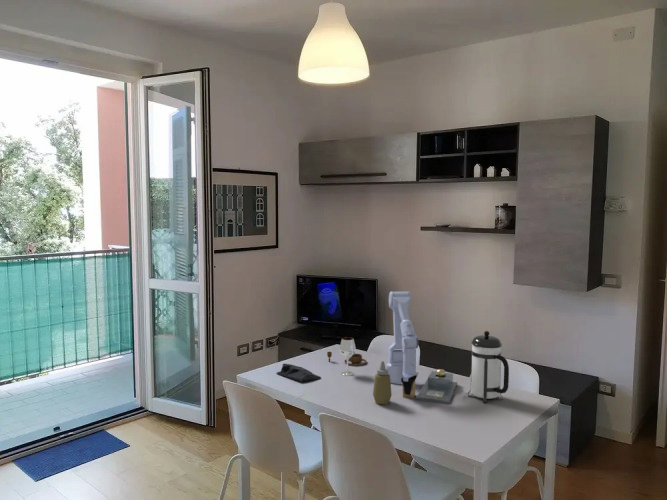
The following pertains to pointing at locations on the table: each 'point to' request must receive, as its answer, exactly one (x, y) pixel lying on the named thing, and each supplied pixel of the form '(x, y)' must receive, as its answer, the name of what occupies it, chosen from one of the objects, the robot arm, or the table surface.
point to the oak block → (411, 391)
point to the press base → (438, 388)
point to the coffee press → (487, 367)
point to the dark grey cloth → (297, 373)
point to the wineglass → (347, 351)
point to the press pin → (440, 373)
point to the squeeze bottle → (382, 386)
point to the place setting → (352, 359)
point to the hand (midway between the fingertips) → (409, 392)
